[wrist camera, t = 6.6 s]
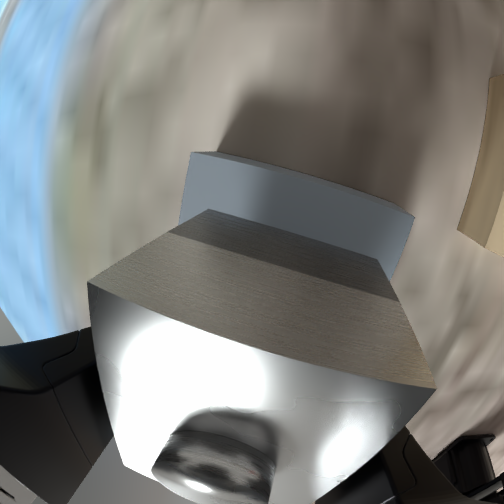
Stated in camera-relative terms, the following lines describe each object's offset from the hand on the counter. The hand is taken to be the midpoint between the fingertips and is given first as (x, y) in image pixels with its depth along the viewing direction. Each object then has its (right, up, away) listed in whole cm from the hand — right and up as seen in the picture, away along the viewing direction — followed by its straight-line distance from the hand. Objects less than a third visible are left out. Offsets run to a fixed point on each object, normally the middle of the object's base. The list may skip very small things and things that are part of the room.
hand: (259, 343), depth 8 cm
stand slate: (+1, +2, +6) cm, 7 cm away
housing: (0, 0, +1) cm, 1 cm away
